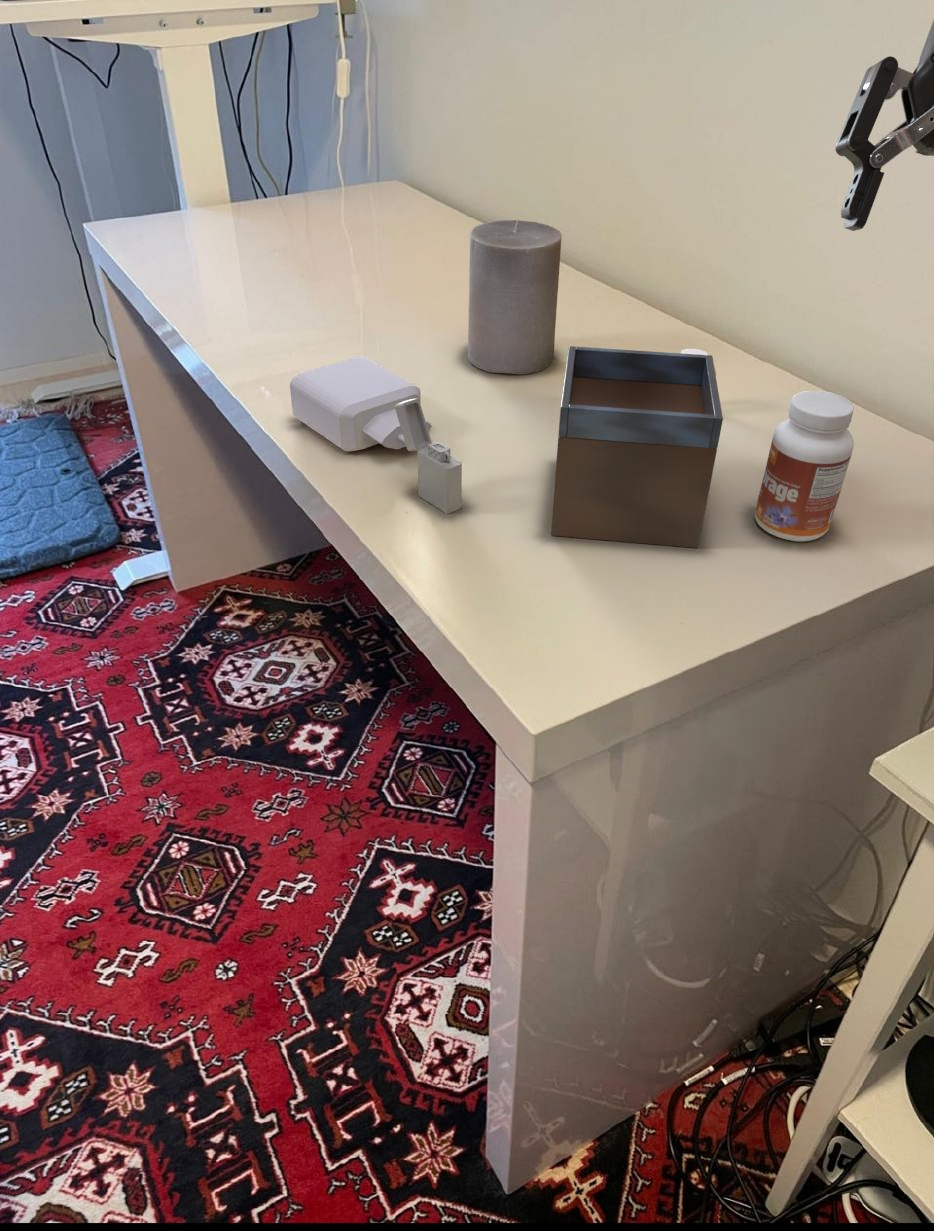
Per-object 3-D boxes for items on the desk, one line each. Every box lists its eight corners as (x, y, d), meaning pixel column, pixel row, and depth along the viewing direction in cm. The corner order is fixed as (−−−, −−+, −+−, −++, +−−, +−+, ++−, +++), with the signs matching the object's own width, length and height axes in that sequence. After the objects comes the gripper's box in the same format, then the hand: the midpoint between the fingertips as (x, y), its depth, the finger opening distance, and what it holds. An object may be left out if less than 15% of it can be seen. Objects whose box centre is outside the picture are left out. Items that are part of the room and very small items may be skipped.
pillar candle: (516, 335, 113) (523, 202, 104) (571, 363, 107) (582, 223, 98) (449, 354, 108) (450, 216, 99) (502, 383, 102) (508, 239, 93)
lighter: (462, 507, 82) (463, 422, 77) (447, 514, 81) (447, 428, 76) (412, 475, 86) (410, 393, 81) (396, 481, 85) (393, 398, 80)
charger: (380, 481, 85) (293, 421, 94) (460, 451, 90) (370, 397, 99) (378, 433, 82) (288, 376, 92) (461, 405, 87) (368, 353, 96)
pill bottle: (739, 511, 82) (765, 390, 75) (800, 500, 84) (831, 381, 77) (780, 549, 77) (812, 424, 71) (844, 537, 79) (881, 413, 72)
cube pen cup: (691, 476, 87) (712, 355, 80) (698, 548, 77) (723, 418, 70) (559, 465, 88) (569, 345, 81) (550, 535, 79) (560, 406, 72)
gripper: (934, -60, 59) (837, 210, 64) (1137, 13, 61) (1029, 272, 65) (880, -17, 67) (796, 223, 71) (1062, 47, 68) (969, 278, 72)
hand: (908, 246), depth 68 cm, fingers open, 8 cm apart
